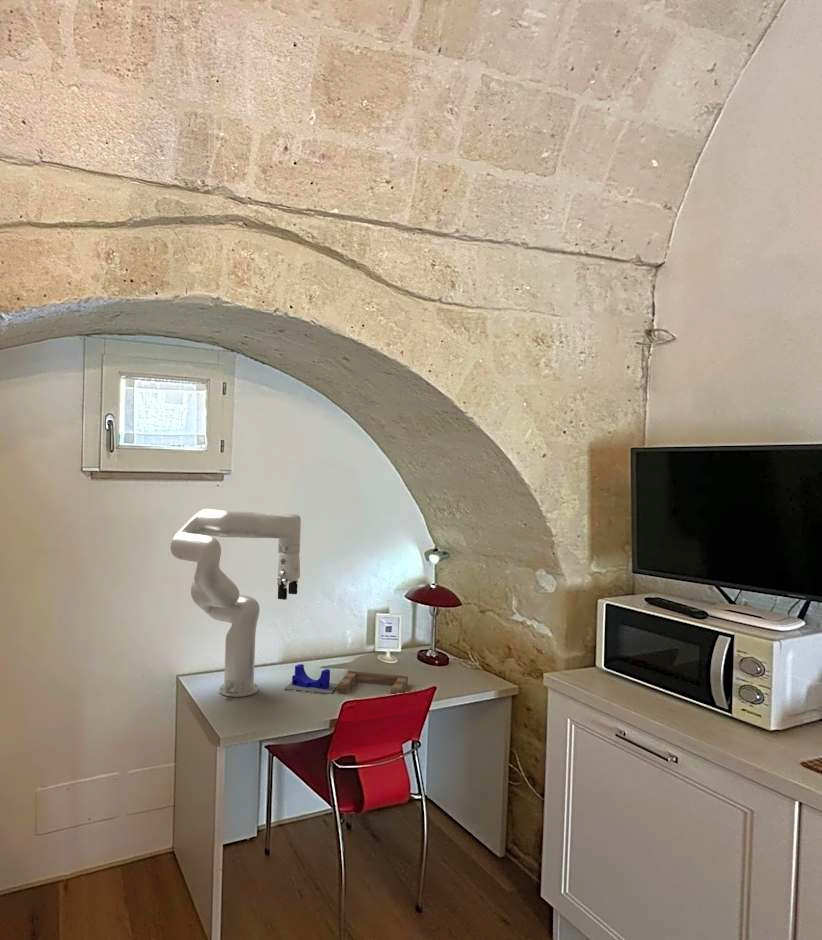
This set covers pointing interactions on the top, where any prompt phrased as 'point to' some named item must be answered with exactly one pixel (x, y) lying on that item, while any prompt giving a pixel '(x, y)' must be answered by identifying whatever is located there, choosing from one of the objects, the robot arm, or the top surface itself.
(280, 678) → the top surface
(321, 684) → the blue u-shaped cradle
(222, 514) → the robot arm
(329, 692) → the rubber mat
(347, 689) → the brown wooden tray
